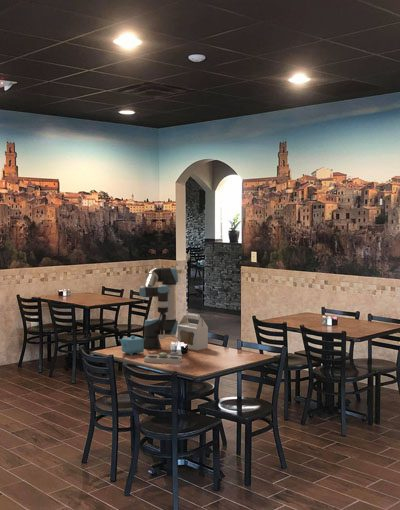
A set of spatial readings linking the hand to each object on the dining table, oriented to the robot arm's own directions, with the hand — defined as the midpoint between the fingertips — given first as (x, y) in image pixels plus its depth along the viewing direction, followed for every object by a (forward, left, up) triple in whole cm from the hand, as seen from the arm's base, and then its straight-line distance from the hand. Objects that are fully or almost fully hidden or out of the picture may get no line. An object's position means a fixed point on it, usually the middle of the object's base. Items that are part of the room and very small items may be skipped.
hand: (162, 338), depth 468 cm
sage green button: (+3, +1, -12) cm, 12 cm away
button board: (+3, +1, -16) cm, 16 cm away
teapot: (-17, -29, -16) cm, 37 cm away
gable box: (-54, +12, -16) cm, 58 cm away
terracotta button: (+3, -7, -11) cm, 13 cm away
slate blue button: (+3, +9, -11) cm, 15 cm away
